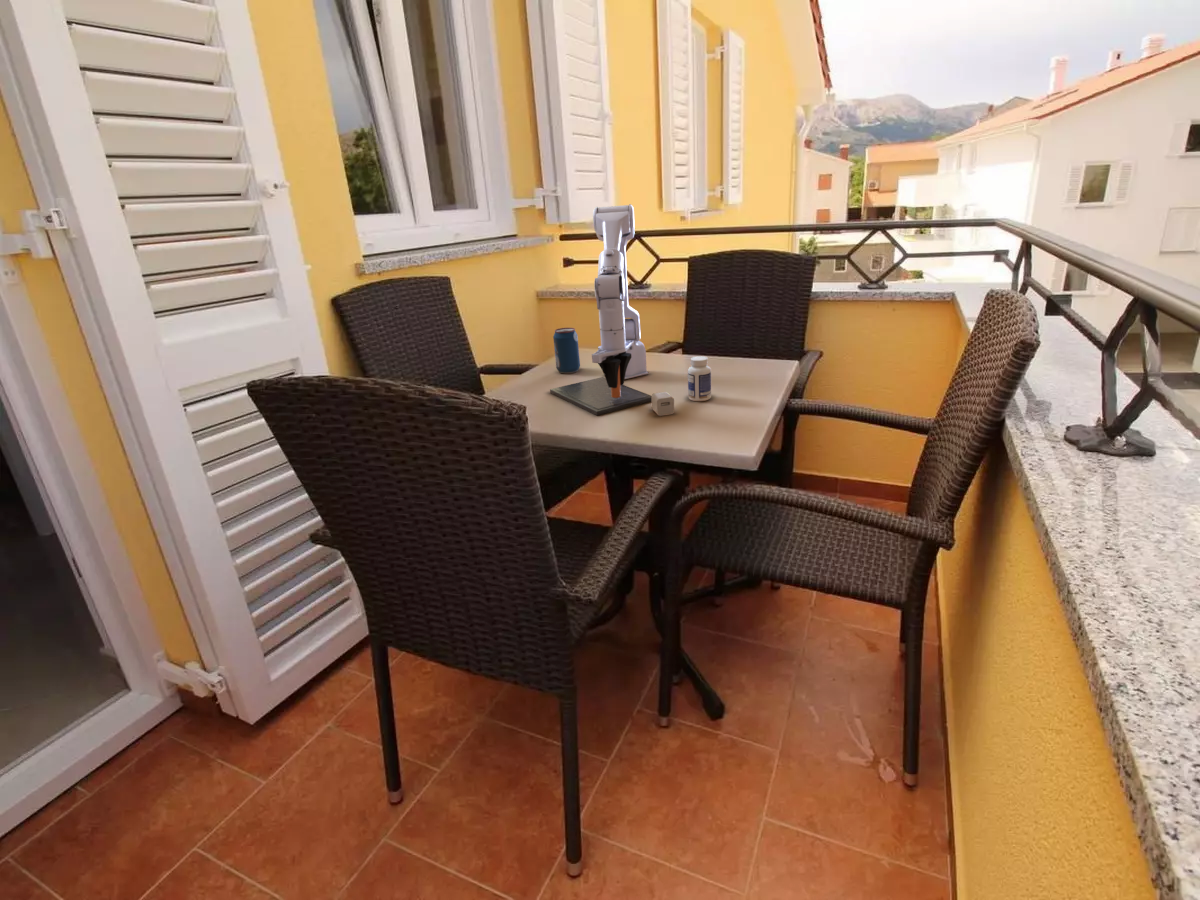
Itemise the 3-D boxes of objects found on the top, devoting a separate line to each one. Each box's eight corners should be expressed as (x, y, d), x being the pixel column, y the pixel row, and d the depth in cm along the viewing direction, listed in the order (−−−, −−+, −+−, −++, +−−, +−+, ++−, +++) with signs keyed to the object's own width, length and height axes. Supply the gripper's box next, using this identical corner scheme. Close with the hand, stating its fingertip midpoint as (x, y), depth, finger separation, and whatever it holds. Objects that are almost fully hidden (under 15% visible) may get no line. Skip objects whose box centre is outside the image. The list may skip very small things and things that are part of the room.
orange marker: (614, 394, 151) (613, 357, 147) (622, 395, 149) (621, 359, 146) (609, 397, 149) (607, 360, 145) (617, 398, 148) (616, 361, 144)
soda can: (585, 368, 182) (581, 327, 178) (571, 374, 177) (567, 332, 173) (565, 366, 186) (561, 326, 181) (551, 372, 181) (547, 331, 176)
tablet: (602, 380, 169) (602, 376, 169) (654, 400, 150) (654, 396, 150) (550, 392, 162) (549, 388, 162) (597, 415, 143) (596, 411, 142)
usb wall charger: (657, 416, 140) (656, 399, 138) (648, 407, 146) (648, 390, 144) (674, 413, 140) (673, 396, 139) (665, 404, 147) (664, 388, 145)
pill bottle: (712, 395, 151) (712, 355, 147) (709, 402, 146) (708, 361, 142) (690, 394, 152) (690, 355, 149) (686, 401, 148) (685, 361, 144)
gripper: (616, 321, 150) (619, 376, 156) (579, 333, 140) (584, 392, 145) (640, 322, 146) (643, 379, 152) (604, 335, 136) (608, 395, 141)
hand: (616, 385), depth 148 cm, fingers closed on orange marker, 2 cm apart
